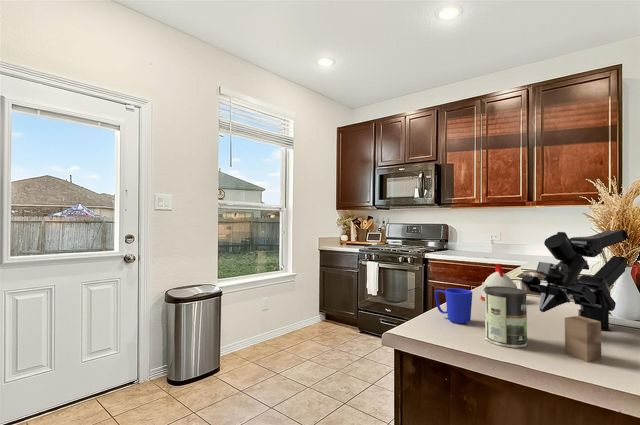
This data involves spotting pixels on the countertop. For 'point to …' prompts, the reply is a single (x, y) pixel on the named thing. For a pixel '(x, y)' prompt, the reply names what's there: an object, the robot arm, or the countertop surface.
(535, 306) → the countertop surface
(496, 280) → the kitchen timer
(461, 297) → the mug
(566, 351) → the walnut block
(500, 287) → the coffee can
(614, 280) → the robot arm
